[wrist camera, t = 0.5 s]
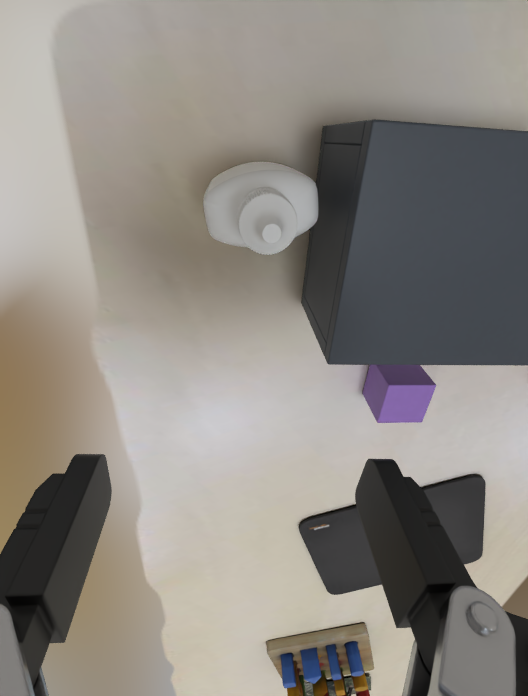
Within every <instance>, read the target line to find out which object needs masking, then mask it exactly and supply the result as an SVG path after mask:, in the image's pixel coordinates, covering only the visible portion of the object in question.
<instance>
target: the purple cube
mask: <svg viewBox="0 0 528 696" xmlns="http://www.w3.org/2000/svg"><path fill="white" fill-rule="evenodd" d="M435 387H436V384H435V383H434V382H433V381H432V379H431V378H430V377H429V376H428V375H427V373H426V372H425V371H424V370H423V369H422V367H421V366H420V365H370V366H369V370H368V374H367V378H366V382H365V385H364V389H363V395H364V397H365V399H366V401H367V403H368V405H369V407H370V409H371V411H372V413H373V415H374V417H375V419H376V421H377V422H378V423H396V422H422V421H423V418H424V415H425V413H426V410H427V408H428V405H429V403H430V400H431V398H432V395H433V392H434V390H435Z"/></svg>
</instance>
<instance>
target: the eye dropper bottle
mask: <svg viewBox="0 0 528 696" xmlns="http://www.w3.org/2000/svg"><path fill="white" fill-rule="evenodd" d="M203 207H204V213H205V218H206V223H207V227H208V231H209V233H210V235H211V237H213V238H214V239H215V240H217V241H220V242H223V243H226V244H229V245H234V246H239V247H249V248H250V249H252V251H255V252H257V253H260V254H263V255H264V254H266V255H267V254H269V255H270V254H272V255H273V254H276V253H279V252H281V251H282V250H284V249H286V247H288V246H289V244H291V242H292V240H293V239H294V238H295V237H297V236H299V235H301V234H303V233H304V232H306V231H307V230H309V229H310V228H311V227H312V226H313V225H314V224H315V223H316V222H317V219H318V210H319V209H318V191H317V187H316V184H315V182H314V181H313V180H312V179H311V178H310V177H308V176H307V175H305V174H303V173H301V172H299V171H297V170H295V169H293V168H291V167H288V166H286V165H282V164H278V163H273V162H250V163H244V164H240V165H237V166H234V167H232V168H230V169H227V170H225V171H224V172H222V173H220V174H219V175H217V176H216V177H214V178H213V179H212V181H211V182H210V184H209V186H208V188H207V190H206V193H205V195H204V200H203Z"/></svg>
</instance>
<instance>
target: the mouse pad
mask: <svg viewBox="0 0 528 696" xmlns="http://www.w3.org/2000/svg"><path fill="white" fill-rule="evenodd" d="M422 490H423V491H424V492H425V494H426V496H427V497H428V499H429V501H430V503H431V505H432V507H433V511H435V512H436V514H437V516H438V518H439V520H440V524H441V526H443V527H444V529H445V531H446V533H447V535H448V537H449V538H450V540H451V542H452V544H453V546H454V548H455V550H456V551H457V553H458V555H459V557H460V559H461V561H462V563H463V565H464V564H468V563H471V562H474V561H476V560H478V559H479V558H480V557H481V556H482V551H483V530H484V507H485V480H484V479H483V478H482V477H481V476H478V475H473V476H467V477H463V478H460V479H456V480H452V481H448V482H444V483H441V484H437V485H433V486H429V487H425V488H422ZM299 530H300V534H301V536H302V538H303V540H304V542H305V544H306V546H307V549H308V551H309V553H310V555H311V557H312V559H313V562H314V564H315V566H316V568H317V570H318V572H319V574H320V576H321V579H322V581H323V583H324V585H325V587H326V589H327V591H328V592H329V593H330V594H334V595H337V594H343V593H348V592H352V591H356V590H360V589H364V588H368V587H373V586H377V585H381V584H382V582H381V579H380V576H379V573H378V570H377V567H376V564H375V561H374V558H373V555H372V552H371V549H370V546H369V543H368V540H367V537H366V534H365V531H364V528H363V525H362V522H361V519H360V516H359V513H358V510H357V506H353V507H350V508H346V509H342V510H338V511H335V512H331V513H327V514H323V515H319V516H316V517H312V518H309V519H306V520H304V521H303V522H301V523H300V525H299Z"/></svg>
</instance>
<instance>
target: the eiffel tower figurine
mask: <svg viewBox="0 0 528 696" xmlns="http://www.w3.org/2000/svg"><path fill="white" fill-rule="evenodd" d="M344 681H345V685H346V690H347V694H348V696H351V694H356V692H355V689H354V685H353V680H352V678H346V679H344ZM366 681H367V685H368V690H371V677H366ZM304 685H305V693H306V696H314V694H313V686H312V683H305V684H304ZM327 685H328V690H329V696H337V695H336V691H335V686H334V681H331V682H327Z"/></svg>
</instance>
